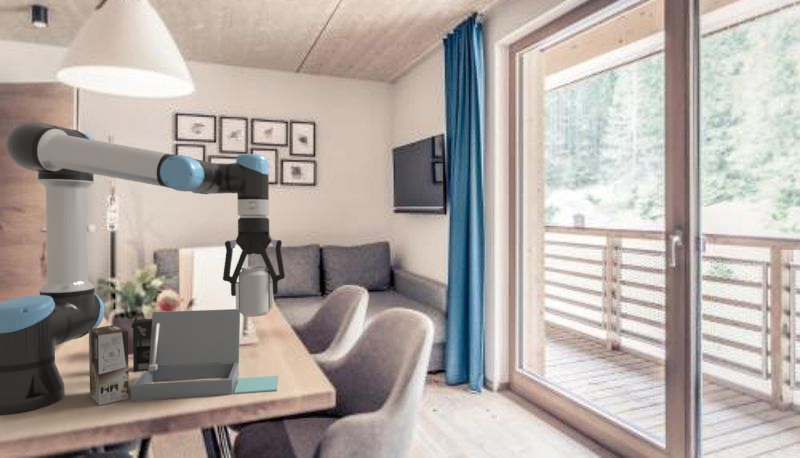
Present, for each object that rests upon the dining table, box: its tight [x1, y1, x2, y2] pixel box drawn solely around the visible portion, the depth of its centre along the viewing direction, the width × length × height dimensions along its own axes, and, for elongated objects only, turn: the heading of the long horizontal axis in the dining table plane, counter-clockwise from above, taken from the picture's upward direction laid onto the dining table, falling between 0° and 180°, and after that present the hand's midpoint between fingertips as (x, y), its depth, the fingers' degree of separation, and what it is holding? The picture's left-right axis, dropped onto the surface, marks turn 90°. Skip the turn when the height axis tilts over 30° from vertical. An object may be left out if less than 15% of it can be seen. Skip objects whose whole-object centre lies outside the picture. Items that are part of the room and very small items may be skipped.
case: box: [131, 308, 241, 402], centre depth 120 cm, size 22×18×17 cm
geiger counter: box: [131, 314, 159, 373], centre depth 133 cm, size 10×4×15 cm, turn 110°
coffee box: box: [88, 324, 130, 406], centre depth 112 cm, size 9×6×16 cm
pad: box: [233, 375, 279, 395], centre depth 120 cm, size 10×10×1 cm
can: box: [238, 265, 271, 318], centre depth 119 cm, size 8×8×12 cm
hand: (255, 307), depth 119 cm, fingers closed on can, 7 cm apart
